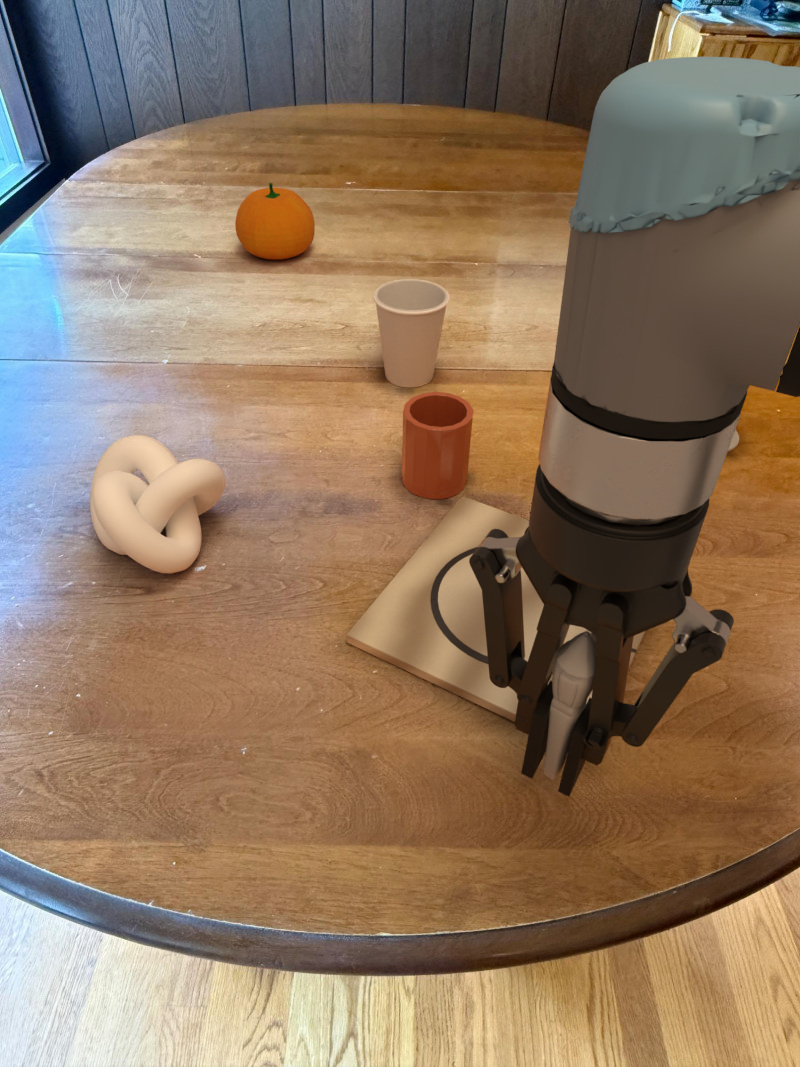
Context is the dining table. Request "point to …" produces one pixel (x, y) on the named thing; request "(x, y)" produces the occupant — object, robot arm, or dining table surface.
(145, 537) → the beige decorative knot
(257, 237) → the fruit
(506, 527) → the drawing board
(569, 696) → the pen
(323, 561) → the dining table surface
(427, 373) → the dixie cup
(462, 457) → the pen pot
